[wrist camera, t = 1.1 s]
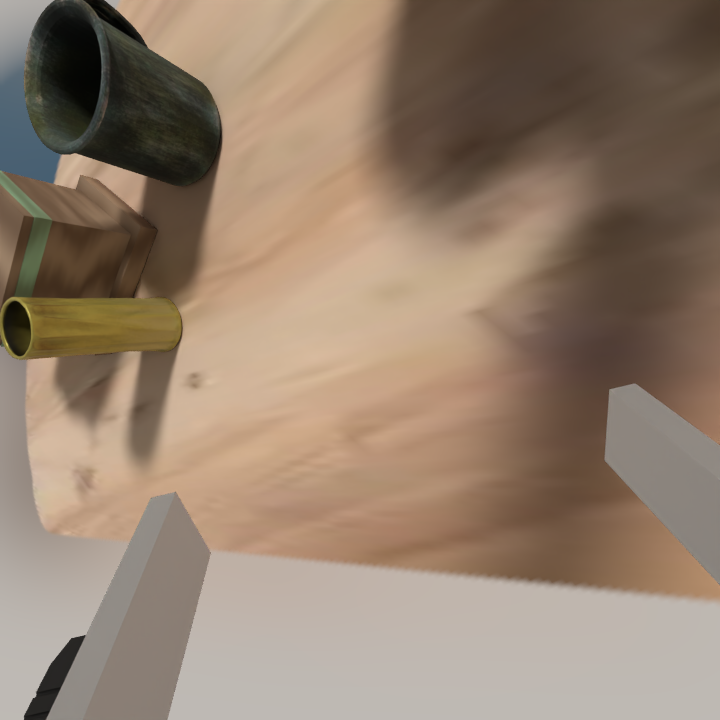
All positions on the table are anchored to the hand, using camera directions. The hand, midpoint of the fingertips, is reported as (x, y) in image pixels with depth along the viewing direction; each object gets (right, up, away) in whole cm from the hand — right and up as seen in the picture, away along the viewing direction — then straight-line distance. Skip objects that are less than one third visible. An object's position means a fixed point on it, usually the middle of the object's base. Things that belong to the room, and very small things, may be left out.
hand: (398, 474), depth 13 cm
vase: (-23, +8, +35) cm, 42 cm away
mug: (-19, +28, +30) cm, 46 cm away
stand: (-32, +15, +38) cm, 52 cm away
